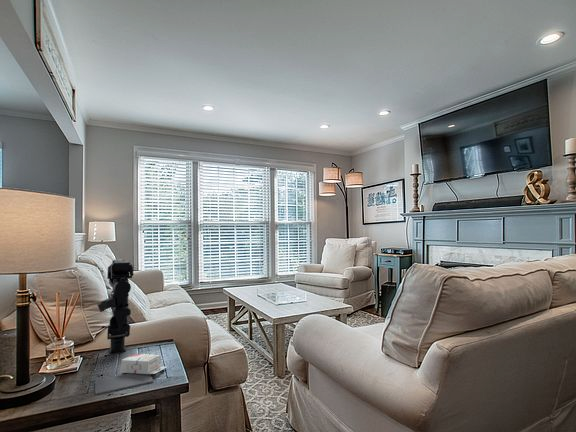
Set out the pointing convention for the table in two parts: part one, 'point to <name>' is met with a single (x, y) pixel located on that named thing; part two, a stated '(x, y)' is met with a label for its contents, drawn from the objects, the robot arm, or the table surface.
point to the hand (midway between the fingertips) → (120, 328)
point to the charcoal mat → (121, 382)
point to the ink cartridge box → (142, 364)
